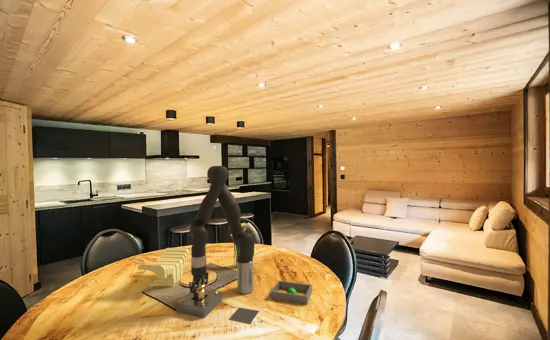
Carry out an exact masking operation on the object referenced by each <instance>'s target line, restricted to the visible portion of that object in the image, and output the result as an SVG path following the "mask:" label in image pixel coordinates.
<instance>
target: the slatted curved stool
mask: <svg viewBox="0 0 550 340" xmlns="http://www.w3.org/2000/svg"><path fill="white" fill-rule="evenodd" d="M188 260H190V252H189V250H188V249H187V248H186V247H185V248H184V247H167V248H165V250H164V252H163V253H162V254H161V255H160V257H159V258H158V259H157V260H156V261H155V262H153V263H151V264H137V265H138V267H137V270H140V271H148V272H152V273H153V274H155V275H156V279H155V280H154V281H152V282H151V283H150V284H148V286H149V287H159V286H173V287H174V286H175V285H176V284H177V283H179V282H180V281H181V280H180V278H181V277H182V278H183V275H184V274H183V273H184V272H183V271H184V265H185V263H186V262H187V261H188ZM179 280H180V281H179Z"/></svg>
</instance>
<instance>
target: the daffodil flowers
mask: <svg viewBox="0 0 550 340" xmlns="http://www.w3.org/2000/svg"><path fill="white" fill-rule="evenodd" d="M241 225H242V227H243V226H245V225H246V222H243V223H242V222H241ZM228 229H230V227H229V226H228ZM243 230H244V232H245V233H246V232H247V231H248V229H247V227H245V228H243ZM247 233H248V234H250V233H249V232H247ZM230 238H231V239H232V243H233V258H235V266H236V268H237V256H238V255H239V254H240V250H241V248H239V247H237V246H236V245H235V243H234V240H233V237H232V233H231V234H230Z"/></svg>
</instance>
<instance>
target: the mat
mask: <svg viewBox="0 0 550 340" xmlns="http://www.w3.org/2000/svg"><path fill="white" fill-rule="evenodd" d="M259 312H260V310H255V309H249V308H244V307H238V308H237V309H236V310H235V311H234V313H233V314H232V315H231V316H230V317H229V318H228V320H229V321H232V322H233V321H234V322H238V323H242V324H243V323H244V324H248V325H251V323H252V322H253V320H254V319H255V318H256V316H257V315H258V314H259Z"/></svg>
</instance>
